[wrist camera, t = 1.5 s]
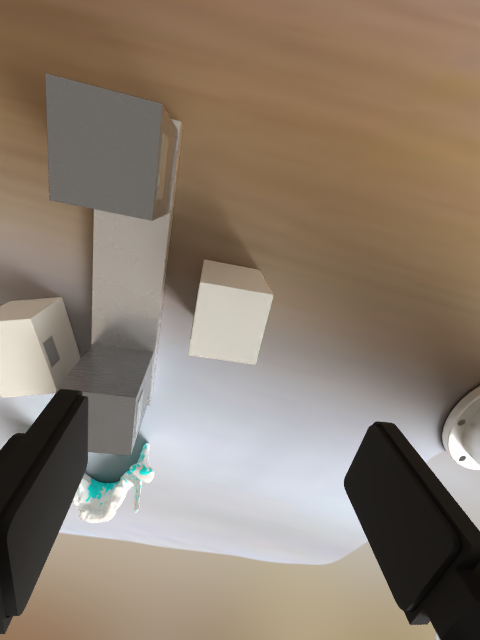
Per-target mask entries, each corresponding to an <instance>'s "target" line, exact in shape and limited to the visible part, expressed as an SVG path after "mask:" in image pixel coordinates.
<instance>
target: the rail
mask: <svg viewBox="0 0 480 640" xmlns="http://www.w3.org/2000/svg"><path fill="white" fill-rule="evenodd" d="M45 80H46V110H47V140H48V169H49V199H50V200H51V201H56V202H61V203H66V204H71V205H76V206H81V207H86V208H91V209H94V232H93V284H92V337H91V346H90V347H89V349H88V350H87V351H86V352H85V354H84V355H83V356H82V357H81V359H80V360H79V361H78V362H77V363H76V365H75V366H74V367H73V368H72V370H71V371H70V372H69V373H68V375H67V376H66V377H65V378H64V380H63V381H62V382H61V383H60V384H59V386H58V387H57V388H56V393H57V391H58V390H59V389H70V390H80V391H82V393H83V396H87V397H88V452H95V453H107V454H118V455H130V456H131V454H132V451H133V448H134V444H135V441H136V438H137V435H138V432H139V429H140V426H141V423H142V419H143V416H144V413H145V410H146V407H147V405H149V404H150V401H151V398H152V394H153V385H154V376H155V367H156V359H157V350H158V341H159V332H160V324H161V315H162V306H163V298H164V289H165V280H166V271H167V263H168V254H169V245H170V236H171V228H172V219H173V210H174V201H175V193H176V184H177V175H178V166H179V158H180V149H181V140H182V131H183V125H182V123H181V121H177V120H173V119H171V117H170V116H169V114H168V112H167V111H166V109H165V107H164V105H163V104H161V103H158V102H154V101H150V100H146V99H142V98H139V97H135V96H131V95H127V94H123V93H119V92H116V91H112V90H108V89H104V88H100V87H97V86H93V85H89V84H85V83H81V82H77V81H74V80H70V79H66V78H62V77H58V76H55V75H51V74H47V73H45Z"/></svg>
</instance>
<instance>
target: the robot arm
mask: <svg viewBox="0 0 480 640" xmlns="http://www.w3.org/2000/svg"><path fill="white" fill-rule="evenodd" d="M442 441H443V445H444V448H445V450H446V451H447V453H448V454H449V455H450V456H451V457H452V458H453V460H454V461H455V462H456V463H458V464H460V465H461V466H463V467H466V468H470V469H476V470H480V386H479V387H477V388H476V389H474V390H473V391H471V392H470V393H469V394H467V395H466V396H465V397H464V398H463V399H462V400H461V401H460V402H459V403H458V404H457V405H456V406H455V407H454V408H453V410H452V411H451V413H450V414H449V416H448V418H447V420H446V422H445V425H444V428H443V433H442ZM87 462H88V397H87V396H83V393H82V391H80V390H70V389H59V390H58V391H57V393H56V394H55V395H54V397H53V398H52V399H51V401H50V402H49V403H48V405H47V406H46V407H45V408H44V410H43V411H42V412H41V414H40V415H39V416H38V418H37V419H36V420H35V422H34V423H33V424H32V426H31V427H30V428H29V430H28V431H27V432H26V434H24V433H17V434H15V435H13V436H12V437H11V438H10V439H9V440H8V441H7V443H6V444H5V445H4V446H3V448H2V449H1V450H0V634H5V632H6V630H7V628H8V626H9V624H10V621H11V619H12V617H13V616H20V615H21V614H22V612H23V611H24V609H25V607H26V605H27V603H28V600H29V598H30V596H31V594H32V591H33V589H34V587H35V585H36V582H37V580H38V578H39V575H40V573H41V571H42V569H43V567H44V564H45V562H46V560H47V557H48V555H49V553H50V551H51V548H52V546H53V544H54V542H55V539H56V537H57V535H58V533H59V530H60V528H61V526H62V523H63V521H64V519H65V517H66V514H67V512H68V510H69V508H70V505H71V503H72V501H73V499H74V496H75V494H76V492H77V489H78V487H79V485H80V483H81V480H82V478H83V476H84V473H85V471H86V467H87ZM344 487H345V490H346V493H347V495H348V497H349V499H350V502H351V504H352V506H353V508H354V510H355V513H356V515H357V517H358V519H359V521H360V524H361V526H362V528H363V530H364V532H365V535H366V537H367V539H368V541H369V543H370V546H371V548H372V550H373V552H374V555H375V557H376V559H377V561H378V563H379V566H380V568H381V570H382V572H383V575H384V577H385V579H386V581H387V583H388V585H389V588H390V590H391V592H392V594H393V597H394V599H395V601H396V603H397V604H398V606H399V607H400V609H402V610H403V611H404V612H405V615H406V617H407V619H408V621H409V624H410V625H422V624H428V623H429V621H431V623H432V625H433V627H434V629H435V640H480V531H479V530H478V529H477V527H476V526H475V525H474V524H473V522H472V521H471V520H470V518H469V517H468V516H467V515H466V513H465V512H464V511H463V510H462V508H461V507H460V506H459V505H458V503H457V502H456V501H455V500H454V498H453V497H452V496H451V494H450V493H449V492H448V491H447V489H446V488H445V487H444V486H443V485H442V483H441V482H440V481H439V479H438V478H437V477H436V476H435V474H434V473H433V472H432V470H431V469H430V468H429V467H428V465H427V464H426V463H425V462H424V460H423V459H422V458H421V457H420V455H419V454H418V453H417V451H416V450H415V449H414V448H413V446H412V445H411V444H410V443H409V441H408V440H407V439H406V438H405V436H404V435H403V434H402V432H401V431H400V430H399V429H398V427H397V426H396V425H395V424H393V423H387V422H375V423H374V424H373V425H371V426H370V427H369V428H368V430H367V432H366V434H365V436H364V438H363V441H362V443H361V445H360V447H359V449H358V451H357V453H356V455H355V457H354V459H353V462H352V464H351V466H350V468H349V470H348V472H347V474H346V476H345V479H344Z"/></svg>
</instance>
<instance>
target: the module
mask: <svg viewBox="0 0 480 640" xmlns="http://www.w3.org/2000/svg"><path fill="white" fill-rule="evenodd" d="M273 296H274V295H273V293H272V291H271V289H270V288H269V286H268V284H267V282H266V281H265V279H264V277H263V275H262V274H261V272H260V270H258V269H253V268H247V267H242V266H237V265H231V264H226V263H221V262H215V261H210V260H205V259H204V263H203V268H202V274H201V280H200V286H199V288H198V294H197V300H196V306H195V313H194V319H193V325H192V332H191V338H190V339H191V343H190V349H189V356H197V357H204V358H211V359H218V360H225V361H232V362H240V363H247V364H254V365H256V361H257V357H258V353H259V349H260V346H261V342H262V338H263V334H264V330H265V326H266V323H267V319H268V315H269V311H270V307H271V303H272V300H273Z"/></svg>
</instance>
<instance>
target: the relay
mask: <svg viewBox="0 0 480 640" xmlns="http://www.w3.org/2000/svg"><path fill="white" fill-rule="evenodd" d="M80 359H81V357H80V354H79V350H78V347H77V344H76V341H75V337H74V334H73V331H72V328H71V325H70V321H69V318H68V315H67V312H66V308H65V305H64V302H63V299H62V297H57V298H44V299H30V300H17V301H9V302H7V303H6V304H4V305H2V306H0V395H1V397H2V398H7V397H18V396H29V395H40V394H51V393H56V388H57V387H58V386H59V384H60V383H61V382H62V381H63V380H64V378H65V377H66V376H67V375H68V373H69V372H70V371H71V370H72V368H73V367H74V366H75V365H76V363H77V362H78V361H79V360H80Z"/></svg>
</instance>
